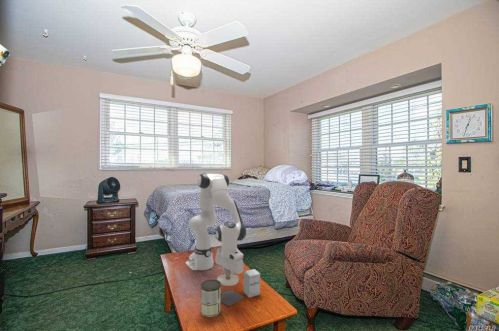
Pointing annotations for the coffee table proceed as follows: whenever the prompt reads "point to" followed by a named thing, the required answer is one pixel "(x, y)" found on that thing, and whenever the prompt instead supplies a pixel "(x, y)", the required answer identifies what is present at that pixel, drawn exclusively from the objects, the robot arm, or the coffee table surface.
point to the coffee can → (210, 298)
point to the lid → (228, 279)
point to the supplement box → (251, 283)
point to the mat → (230, 297)
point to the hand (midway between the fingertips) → (228, 275)
